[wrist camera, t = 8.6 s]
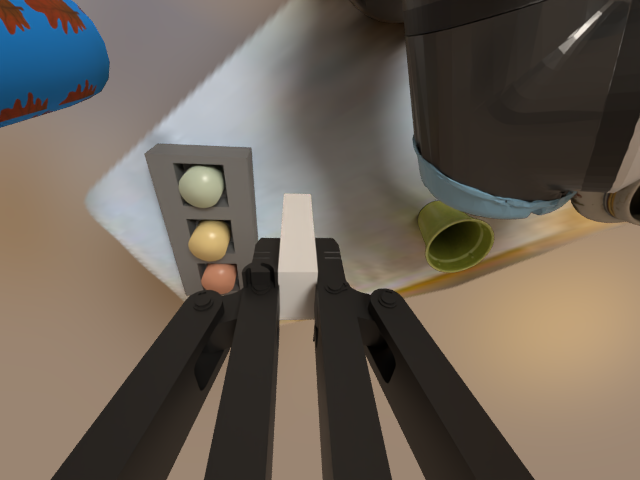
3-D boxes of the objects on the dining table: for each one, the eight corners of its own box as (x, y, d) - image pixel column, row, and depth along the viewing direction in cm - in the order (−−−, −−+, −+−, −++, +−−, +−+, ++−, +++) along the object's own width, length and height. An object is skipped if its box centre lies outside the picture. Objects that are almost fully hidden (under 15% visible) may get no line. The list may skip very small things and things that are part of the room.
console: (157, 143, 37) (144, 153, 34) (251, 147, 38) (247, 157, 35) (193, 278, 51) (186, 295, 48) (261, 278, 52) (258, 294, 49)
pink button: (205, 254, 46) (198, 271, 43) (236, 255, 47) (232, 271, 44) (210, 277, 49) (204, 294, 46) (239, 277, 50) (235, 294, 46)
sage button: (185, 159, 37) (174, 170, 34) (224, 160, 38) (217, 172, 34) (192, 193, 40) (183, 207, 37) (228, 194, 41) (222, 208, 37)
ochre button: (193, 216, 41) (184, 232, 38) (229, 217, 41) (223, 232, 38) (200, 244, 44) (192, 261, 40) (233, 245, 44) (228, 261, 41)
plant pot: (429, 248, 50) (451, 282, 43) (395, 220, 47) (412, 253, 40) (475, 211, 47) (506, 242, 40) (441, 178, 43) (470, 206, 36)
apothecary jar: (479, 143, 40) (584, 204, 25) (559, 60, 35) (752, 77, 20) (525, 186, 45) (637, 259, 30) (603, 119, 39) (785, 167, 25)
